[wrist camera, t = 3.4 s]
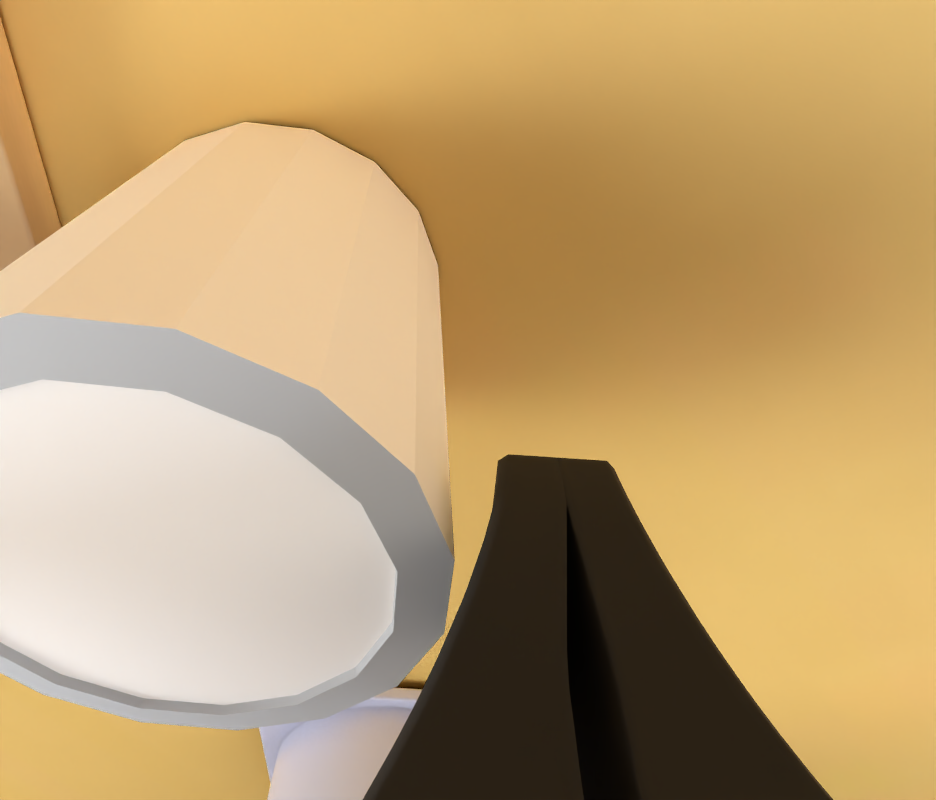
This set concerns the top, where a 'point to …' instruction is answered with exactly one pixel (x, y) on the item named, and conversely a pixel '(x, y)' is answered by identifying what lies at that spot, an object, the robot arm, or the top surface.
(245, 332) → the beige short cylinder
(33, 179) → the stop batten
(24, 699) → the top surface
